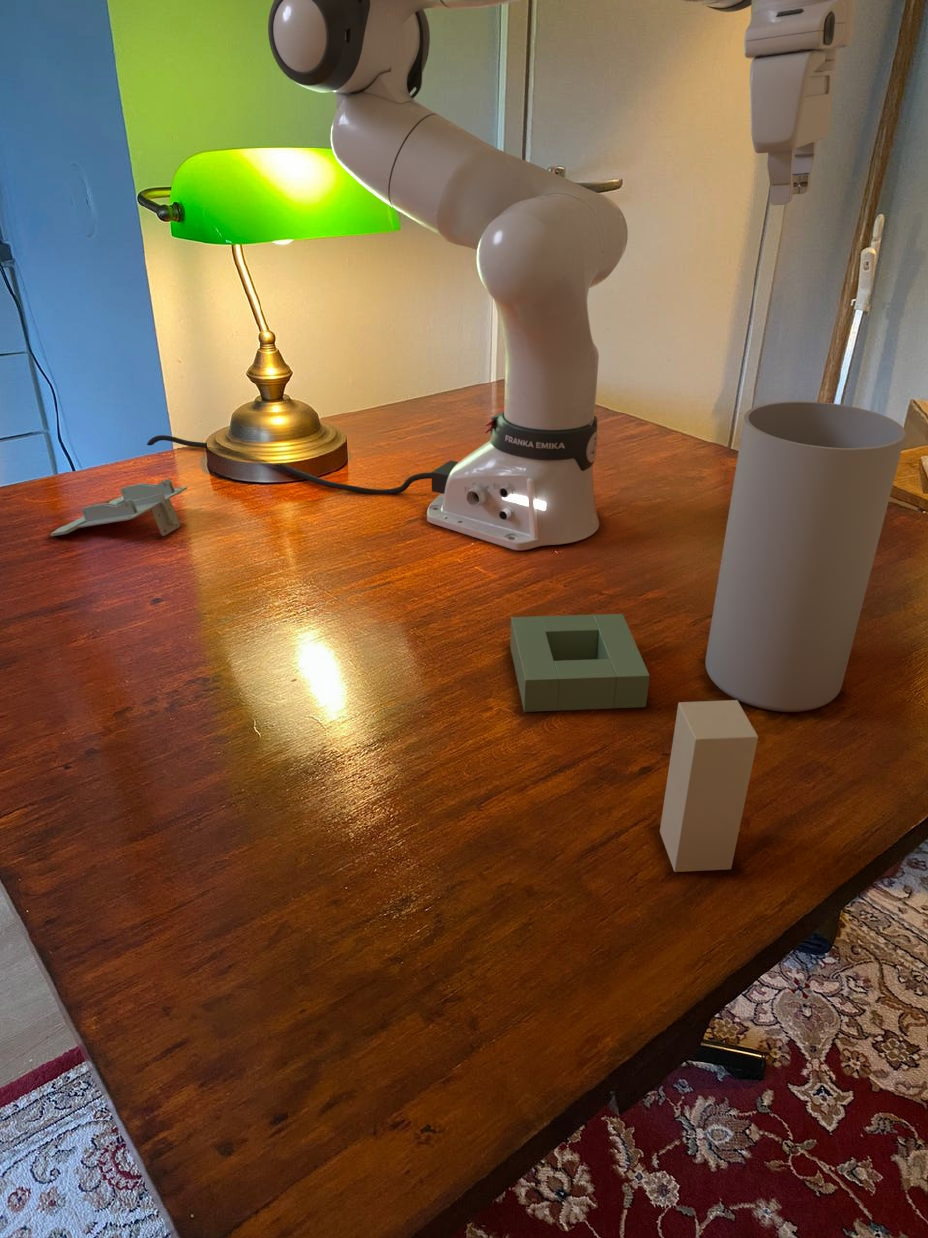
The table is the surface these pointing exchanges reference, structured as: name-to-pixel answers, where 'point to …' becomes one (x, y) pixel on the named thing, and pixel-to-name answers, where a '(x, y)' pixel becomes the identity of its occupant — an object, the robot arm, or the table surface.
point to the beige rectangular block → (707, 784)
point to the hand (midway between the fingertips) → (790, 198)
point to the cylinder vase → (799, 550)
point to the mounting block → (577, 663)
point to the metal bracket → (132, 508)
